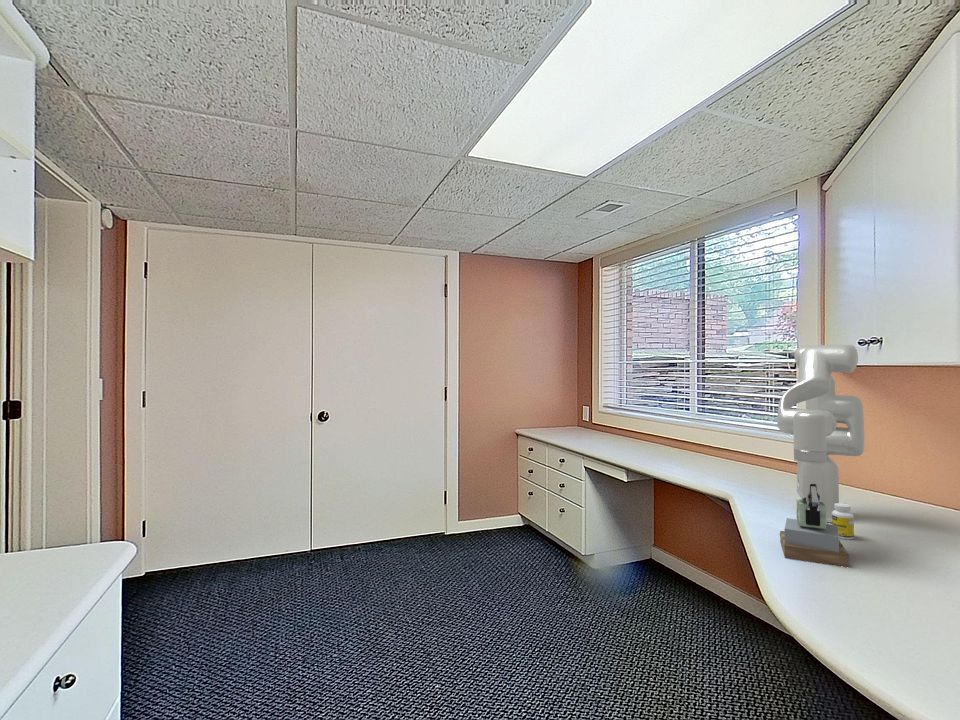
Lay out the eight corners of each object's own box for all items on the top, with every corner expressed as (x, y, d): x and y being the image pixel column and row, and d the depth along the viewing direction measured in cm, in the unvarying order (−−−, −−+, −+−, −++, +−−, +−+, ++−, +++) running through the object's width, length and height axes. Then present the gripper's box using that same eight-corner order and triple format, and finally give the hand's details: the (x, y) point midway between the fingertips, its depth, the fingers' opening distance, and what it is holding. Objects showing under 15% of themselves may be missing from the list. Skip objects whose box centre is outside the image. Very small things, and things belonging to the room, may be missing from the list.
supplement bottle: (827, 535, 151) (827, 503, 151) (839, 533, 153) (839, 501, 153) (846, 540, 146) (845, 507, 146) (858, 538, 148) (857, 506, 148)
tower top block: (787, 531, 144) (786, 518, 144) (837, 539, 137) (837, 525, 137) (784, 543, 134) (784, 528, 134) (839, 552, 127) (838, 537, 127)
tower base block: (780, 544, 145) (780, 530, 145) (838, 552, 138) (837, 538, 139) (784, 560, 132) (784, 545, 132) (848, 569, 126) (848, 554, 126)
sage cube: (796, 519, 140) (796, 498, 140) (822, 522, 137) (821, 501, 137) (799, 525, 134) (799, 503, 135) (826, 528, 132) (825, 506, 132)
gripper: (790, 451, 146) (790, 512, 145) (798, 460, 130) (799, 528, 130) (820, 452, 142) (821, 515, 142) (832, 462, 127) (833, 532, 126)
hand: (810, 521), depth 136 cm, fingers closed on sage cube, 6 cm apart
